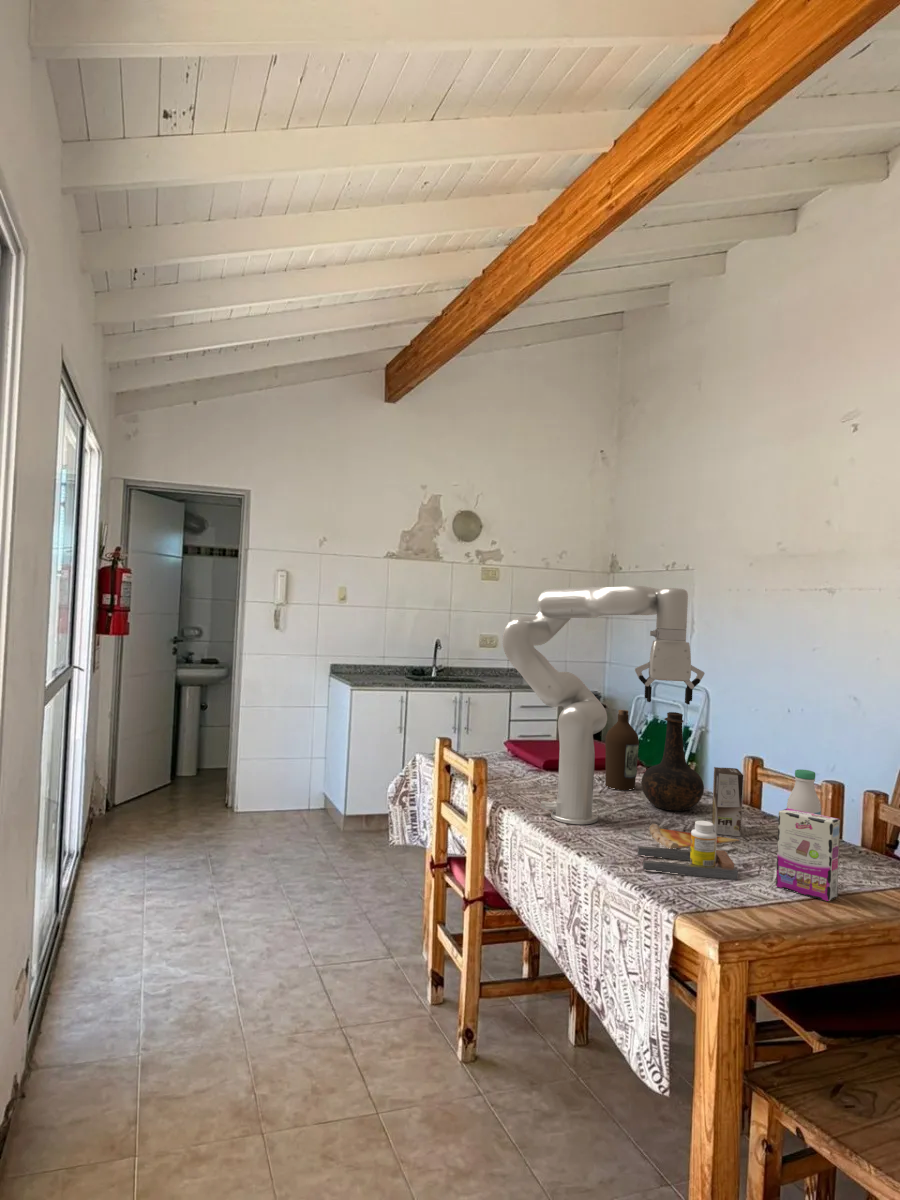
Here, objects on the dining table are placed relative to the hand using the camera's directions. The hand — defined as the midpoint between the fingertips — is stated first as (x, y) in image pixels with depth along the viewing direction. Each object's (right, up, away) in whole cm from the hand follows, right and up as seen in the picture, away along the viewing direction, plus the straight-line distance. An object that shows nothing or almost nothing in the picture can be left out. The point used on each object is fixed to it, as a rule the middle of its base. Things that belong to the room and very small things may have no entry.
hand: (667, 702), depth 200 cm
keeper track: (-3, -34, -23) cm, 41 cm away
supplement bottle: (+1, -35, -23) cm, 42 cm away
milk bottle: (+31, -36, -8) cm, 48 cm away
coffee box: (+18, -35, +8) cm, 40 cm away
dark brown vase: (+9, -35, +30) cm, 47 cm away
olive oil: (-1, -35, +52) cm, 63 cm away
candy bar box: (+19, -35, -36) cm, 54 cm away
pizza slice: (+5, -35, -5) cm, 36 cm away
